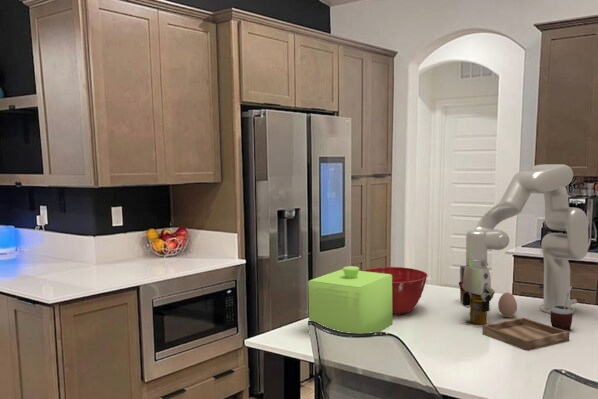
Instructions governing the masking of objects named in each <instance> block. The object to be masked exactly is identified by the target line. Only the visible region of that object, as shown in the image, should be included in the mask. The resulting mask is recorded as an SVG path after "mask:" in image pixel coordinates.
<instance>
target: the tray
mask: <svg viewBox="0 0 598 399" xmlns="http://www.w3.org/2000/svg"><path fill="white" fill-rule="evenodd" d="M482 335H485V336H487V337H489V338H492V339H495V340H498V341H500V342H502V343H506V344H508V345H511V346H513V347H516V348H519V349H522V350H524V351H526V350H528V351H532V350H536V349H540V348H544V347H548V346H551V345H552V346H553V345H556V344H561V343H562V344H563V343H566V342H569V341H570V331H569V330H562V329H558V328H555V327H552V325H549V324H548V325H547V324H545V323H541V322H539V321H535V320H532V319H529V318H525V317H520V318H515V319H514V318H513V319H509V320H504V321H499V322H494V323H491V324H488V325H483V326H482ZM531 349H532V350H531Z"/></svg>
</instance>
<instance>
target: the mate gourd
mask: <svg viewBox="0 0 598 399" xmlns="http://www.w3.org/2000/svg"><path fill="white" fill-rule="evenodd" d="M572 288H573V286H571V285H570V289H569V290H568V292H567V294H566V301H565V306H554V307H553V308H552V309H551V312H550V313H549V316H550V317H549V318H550V325H551V326H552V327H555V328H558V329H562V330H565V331H568V332H570V331H571V330H572V329H571V327H572V323H573V313H572V312H571V310H570V309H569V308H568V307H566V304H567V299H568V296H569V292H570V293H571V290H572Z"/></svg>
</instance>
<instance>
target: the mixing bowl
mask: <svg viewBox="0 0 598 399" xmlns="http://www.w3.org/2000/svg"><path fill="white" fill-rule="evenodd" d="M362 271H366V272H375V273H383V274H391V275H392V316H394V315H395V316H396V315H402V314H403V315H404V314H407V313H409V312H410V311H411V310H413V309H414V308H416V307H417V304H418V303H419V301H420V299H421V297H422V296H423V295H422V294H423V292H424V289H425V286H426V281H427V278H428V276H429V275H428V273H427V272H425V271H423V270H421V269H420V270H419V269H415V268H411V267H409V268H408V267H401V266H400V267H399V266H384V267H383V266H382V267H374V268H373V267H372V268H367V269H364V270H362Z"/></svg>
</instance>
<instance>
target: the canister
mask: <svg viewBox="0 0 598 399" xmlns="http://www.w3.org/2000/svg"><path fill="white" fill-rule="evenodd" d="M307 288H308V321H309V320H311V321H315V322H317V323H320V324H322V325H324V326H326V327H328V328H331V329H335V330H339V331H343V332H350V333H370V332H379V333H381V332H382V331H384V330H386V329H387V328H389V327H391V326H392V325H393V315H392V275H391V274H383V273H375V272H366V271H363V270H360V267H359V266H352V265H349V266H344V267H342V269H339V270H336V271H333V272H329V273H327V274H324V275H321V276H318V277H316V278H312V279H310V280H308V282H307ZM385 328H386V329H385Z"/></svg>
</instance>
